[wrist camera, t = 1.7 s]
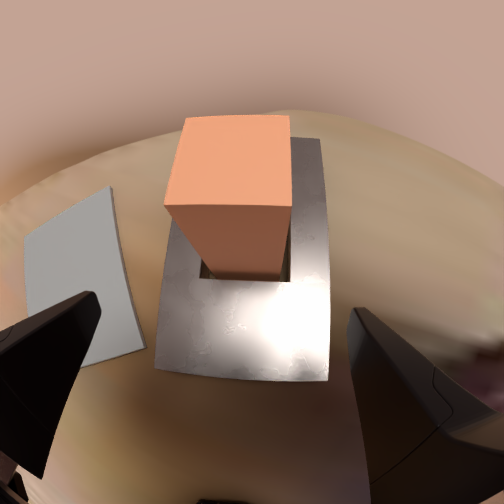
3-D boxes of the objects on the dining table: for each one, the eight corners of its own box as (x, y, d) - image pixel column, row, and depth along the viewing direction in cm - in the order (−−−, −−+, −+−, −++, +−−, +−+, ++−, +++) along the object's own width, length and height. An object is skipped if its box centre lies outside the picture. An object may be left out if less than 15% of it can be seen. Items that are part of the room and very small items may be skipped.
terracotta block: (278, 281, 22) (292, 206, 10) (216, 279, 22) (163, 204, 10) (280, 225, 23) (289, 116, 12) (222, 223, 24) (186, 118, 12)
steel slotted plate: (319, 375, 19) (327, 380, 16) (168, 365, 20) (154, 368, 17) (315, 158, 26) (319, 138, 23) (196, 157, 26) (190, 138, 24)
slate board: (147, 347, 20) (144, 347, 20) (44, 377, 19) (40, 377, 19) (112, 188, 26) (109, 185, 25) (27, 238, 25) (24, 236, 24)
